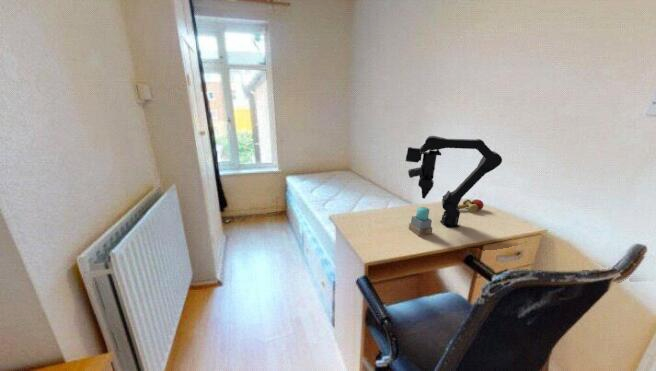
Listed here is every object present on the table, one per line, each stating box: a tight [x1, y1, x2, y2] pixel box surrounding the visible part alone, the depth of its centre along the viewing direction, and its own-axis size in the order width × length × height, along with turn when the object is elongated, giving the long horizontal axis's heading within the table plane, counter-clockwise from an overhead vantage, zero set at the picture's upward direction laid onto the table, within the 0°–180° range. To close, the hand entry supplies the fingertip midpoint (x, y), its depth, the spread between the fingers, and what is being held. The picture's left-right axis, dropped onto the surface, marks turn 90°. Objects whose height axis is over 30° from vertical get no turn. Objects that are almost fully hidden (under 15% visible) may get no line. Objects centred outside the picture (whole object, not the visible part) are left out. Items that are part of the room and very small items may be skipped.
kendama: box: [458, 198, 485, 213], centre depth 138 cm, size 8×6×18 cm
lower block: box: [408, 222, 433, 237], centre depth 115 cm, size 7×7×4 cm
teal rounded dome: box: [415, 206, 430, 221], centre depth 112 cm, size 5×5×4 cm
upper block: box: [410, 215, 433, 229], centre depth 114 cm, size 6×6×4 cm
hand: (423, 195), depth 123 cm, fingers open, 9 cm apart
